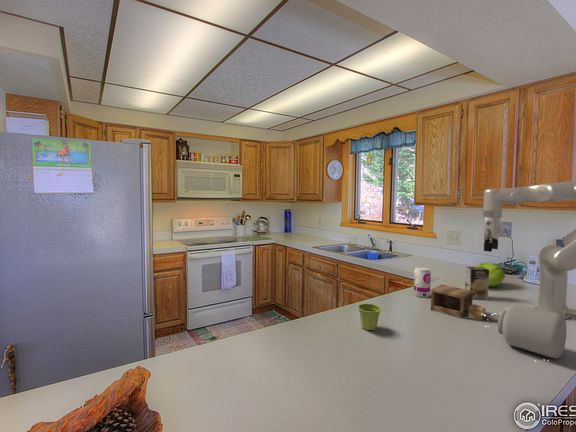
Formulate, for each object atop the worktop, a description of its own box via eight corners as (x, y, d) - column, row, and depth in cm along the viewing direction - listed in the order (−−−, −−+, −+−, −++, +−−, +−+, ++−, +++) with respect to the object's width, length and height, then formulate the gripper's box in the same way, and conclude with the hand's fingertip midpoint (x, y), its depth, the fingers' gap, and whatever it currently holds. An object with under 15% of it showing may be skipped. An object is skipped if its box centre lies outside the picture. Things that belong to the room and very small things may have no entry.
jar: (547, 357, 94) (466, 318, 115) (552, 379, 101) (475, 339, 122) (575, 311, 99) (492, 282, 120) (578, 335, 106) (499, 304, 127)
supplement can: (433, 296, 166) (434, 269, 165) (421, 298, 163) (422, 270, 162) (421, 292, 174) (422, 266, 173) (410, 294, 171) (411, 267, 170)
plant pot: (380, 324, 130) (381, 304, 130) (381, 334, 121) (381, 312, 121) (358, 322, 133) (358, 302, 132) (357, 331, 124) (357, 310, 123)
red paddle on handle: (518, 326, 129) (518, 312, 128) (515, 329, 125) (516, 315, 125) (472, 314, 141) (472, 301, 141) (468, 317, 138) (469, 304, 137)
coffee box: (469, 299, 162) (470, 269, 161) (464, 295, 168) (465, 266, 167) (488, 299, 161) (489, 269, 160) (481, 296, 167) (483, 266, 166)
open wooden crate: (472, 311, 145) (472, 290, 144) (462, 318, 137) (463, 296, 136) (441, 304, 155) (441, 284, 154) (430, 310, 147) (431, 289, 146)
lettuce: (501, 297, 172) (471, 294, 183) (509, 280, 187) (481, 279, 198) (496, 272, 171) (466, 271, 182) (505, 258, 186) (477, 257, 197)
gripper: (496, 215, 139) (494, 253, 140) (506, 214, 150) (504, 248, 151) (477, 215, 144) (476, 251, 145) (488, 213, 156) (487, 247, 157)
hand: (490, 250), depth 148 cm, fingers open, 9 cm apart
